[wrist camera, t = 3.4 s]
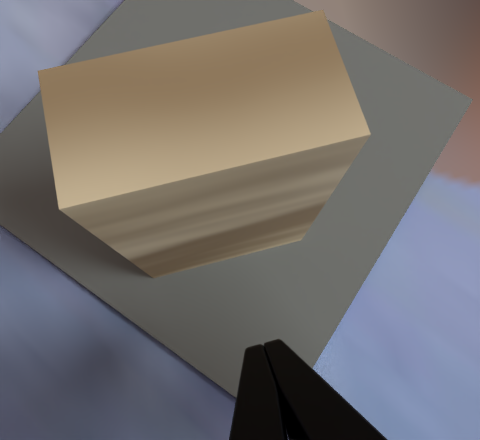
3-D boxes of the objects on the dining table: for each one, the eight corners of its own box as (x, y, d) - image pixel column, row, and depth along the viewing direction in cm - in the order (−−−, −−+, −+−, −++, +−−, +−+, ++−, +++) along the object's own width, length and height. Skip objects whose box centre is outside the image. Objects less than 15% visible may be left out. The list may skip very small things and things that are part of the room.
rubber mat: (467, 104, 19) (472, 99, 19) (275, 425, 15) (276, 427, 15) (182, -54, 21) (181, -61, 21) (-44, 191, 18) (-50, 187, 17)
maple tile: (301, 240, 17) (370, 134, 8) (153, 278, 16) (58, 209, 8) (278, 167, 18) (319, 0, 9) (137, 201, 17) (36, 60, 8)
